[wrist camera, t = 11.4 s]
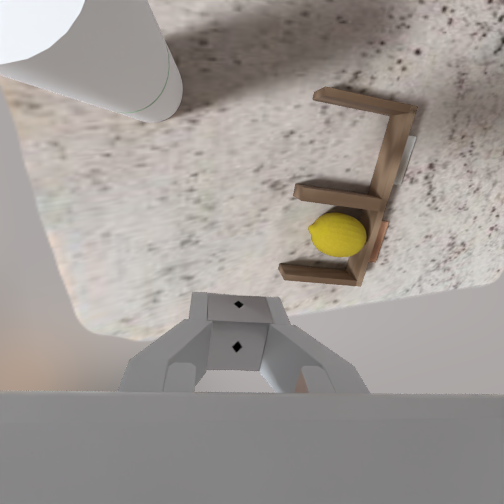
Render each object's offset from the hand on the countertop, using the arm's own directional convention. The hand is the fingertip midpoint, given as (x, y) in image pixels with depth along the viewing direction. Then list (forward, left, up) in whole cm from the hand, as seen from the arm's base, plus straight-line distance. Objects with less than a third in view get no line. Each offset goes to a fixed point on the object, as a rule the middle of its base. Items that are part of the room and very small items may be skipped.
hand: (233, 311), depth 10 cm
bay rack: (-1, +17, -27) cm, 32 cm away
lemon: (+3, +11, -24) cm, 27 cm away
